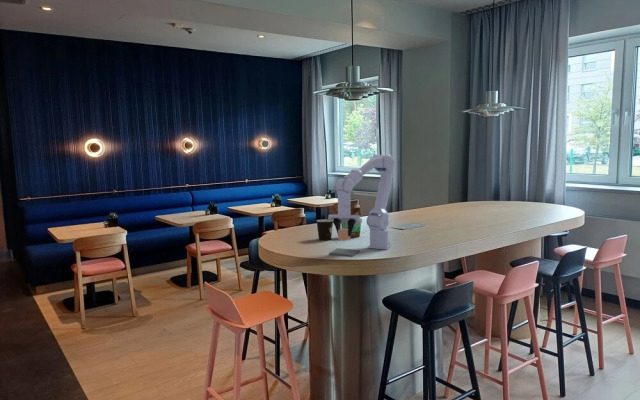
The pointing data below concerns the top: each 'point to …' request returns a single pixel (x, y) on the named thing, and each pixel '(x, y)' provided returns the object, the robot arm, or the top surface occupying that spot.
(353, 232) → the food container
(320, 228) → the coffee mug
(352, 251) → the mat
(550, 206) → the top surface
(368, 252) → the top surface
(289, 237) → the top surface
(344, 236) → the cube
